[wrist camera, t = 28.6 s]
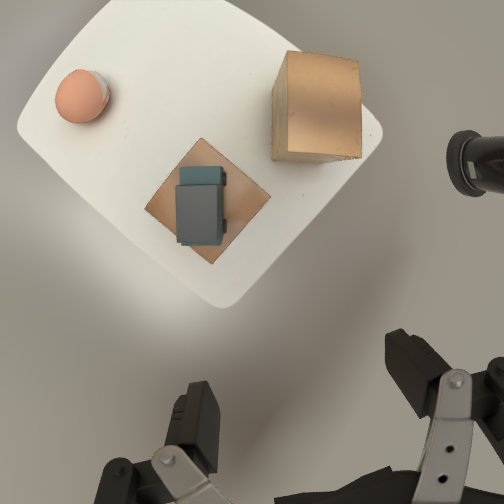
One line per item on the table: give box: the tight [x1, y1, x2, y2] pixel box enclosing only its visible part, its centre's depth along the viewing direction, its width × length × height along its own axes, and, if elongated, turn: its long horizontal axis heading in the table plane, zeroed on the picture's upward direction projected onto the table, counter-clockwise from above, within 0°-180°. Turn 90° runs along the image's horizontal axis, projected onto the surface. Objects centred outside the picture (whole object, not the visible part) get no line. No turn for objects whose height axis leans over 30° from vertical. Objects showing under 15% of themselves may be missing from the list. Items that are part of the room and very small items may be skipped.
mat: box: [144, 138, 271, 264], centre depth 37 cm, size 12×12×1 cm
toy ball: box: [55, 69, 110, 123], centre depth 28 cm, size 8×8×8 cm
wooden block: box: [271, 51, 362, 163], centre depth 28 cm, size 10×7×13 cm
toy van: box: [175, 166, 227, 246], centre depth 32 cm, size 9×5×8 cm, turn 179°
